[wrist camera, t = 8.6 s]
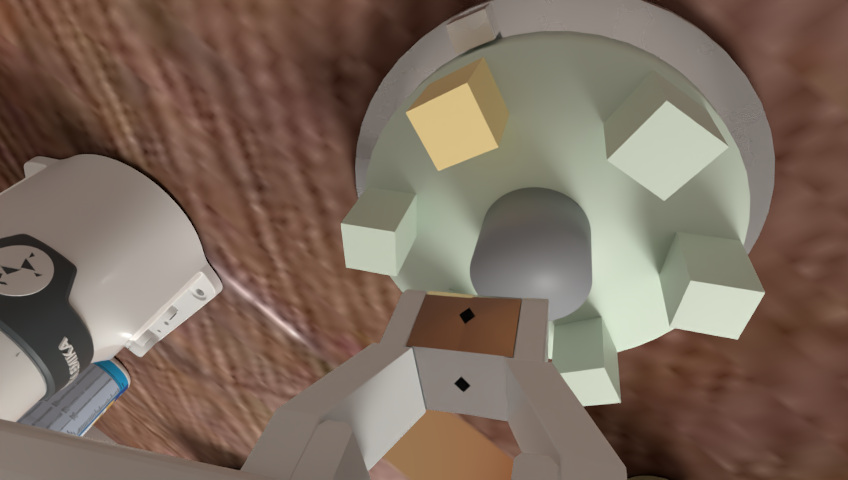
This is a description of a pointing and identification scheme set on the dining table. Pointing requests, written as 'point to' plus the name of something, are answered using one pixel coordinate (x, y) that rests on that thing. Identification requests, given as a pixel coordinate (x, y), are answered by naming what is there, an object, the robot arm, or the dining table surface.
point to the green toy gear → (564, 197)
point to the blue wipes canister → (80, 399)
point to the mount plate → (611, 17)
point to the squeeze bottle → (646, 478)
